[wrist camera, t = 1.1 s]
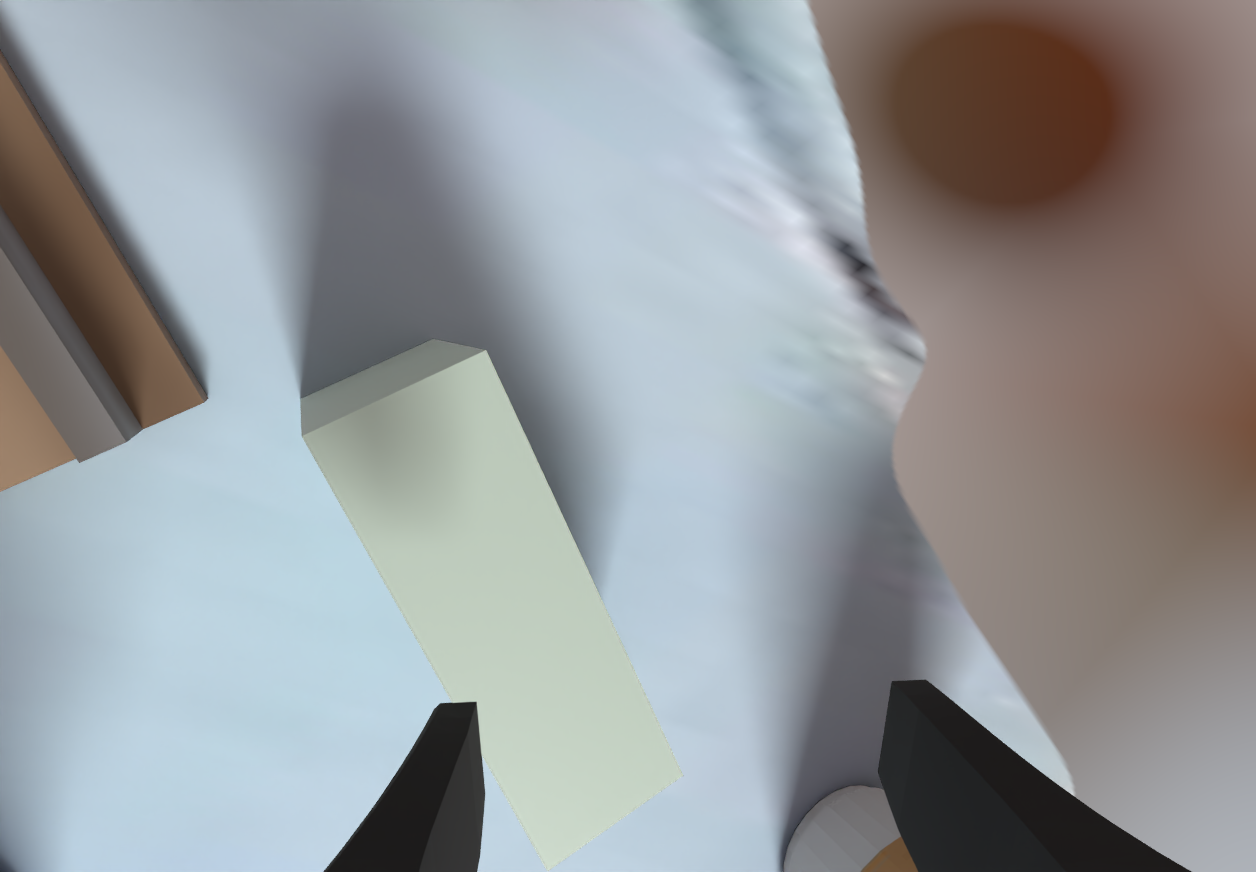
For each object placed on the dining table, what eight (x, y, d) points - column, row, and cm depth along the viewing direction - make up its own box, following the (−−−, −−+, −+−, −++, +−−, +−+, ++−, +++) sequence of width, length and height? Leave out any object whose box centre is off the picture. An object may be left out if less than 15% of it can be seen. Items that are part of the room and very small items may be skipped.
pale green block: (483, 728, 25) (547, 871, 19) (300, 398, 21) (301, 436, 15) (588, 661, 26) (683, 775, 20) (432, 338, 22) (485, 350, 16)
